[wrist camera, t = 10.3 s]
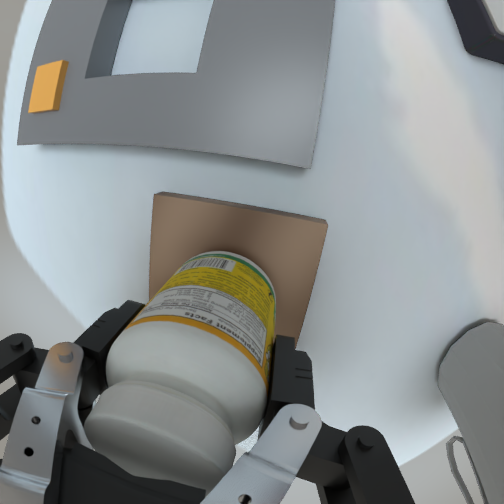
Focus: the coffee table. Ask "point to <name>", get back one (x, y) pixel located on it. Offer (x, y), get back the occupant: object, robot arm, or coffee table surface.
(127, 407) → the supplement bottle
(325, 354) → the coffee table surface
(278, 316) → the coaster pad
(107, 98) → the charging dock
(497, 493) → the water bottle
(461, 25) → the calculator
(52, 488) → the robot arm
